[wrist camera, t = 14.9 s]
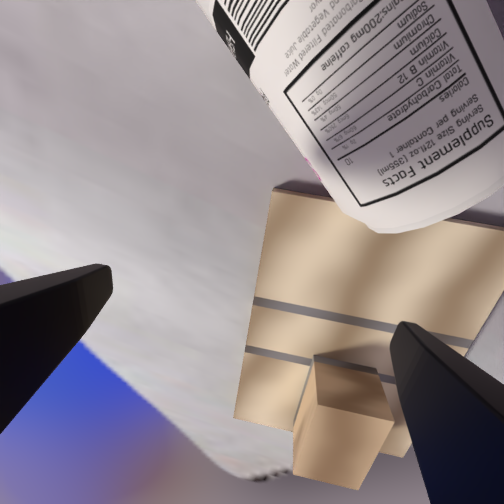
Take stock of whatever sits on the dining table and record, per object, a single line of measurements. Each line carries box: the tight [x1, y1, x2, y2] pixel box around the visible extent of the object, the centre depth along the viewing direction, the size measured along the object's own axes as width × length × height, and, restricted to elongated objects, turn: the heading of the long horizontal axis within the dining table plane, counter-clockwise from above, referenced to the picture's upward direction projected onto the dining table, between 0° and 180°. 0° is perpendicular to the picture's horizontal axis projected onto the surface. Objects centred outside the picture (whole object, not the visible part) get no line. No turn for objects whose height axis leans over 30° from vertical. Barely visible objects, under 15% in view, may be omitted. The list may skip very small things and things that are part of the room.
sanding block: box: [293, 355, 395, 490], centre depth 22 cm, size 5×8×4 cm, turn 172°
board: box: [233, 188, 504, 458], centre depth 22 cm, size 16×22×1 cm
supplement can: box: [195, 0, 504, 233], centre depth 12 cm, size 8×8×15 cm
